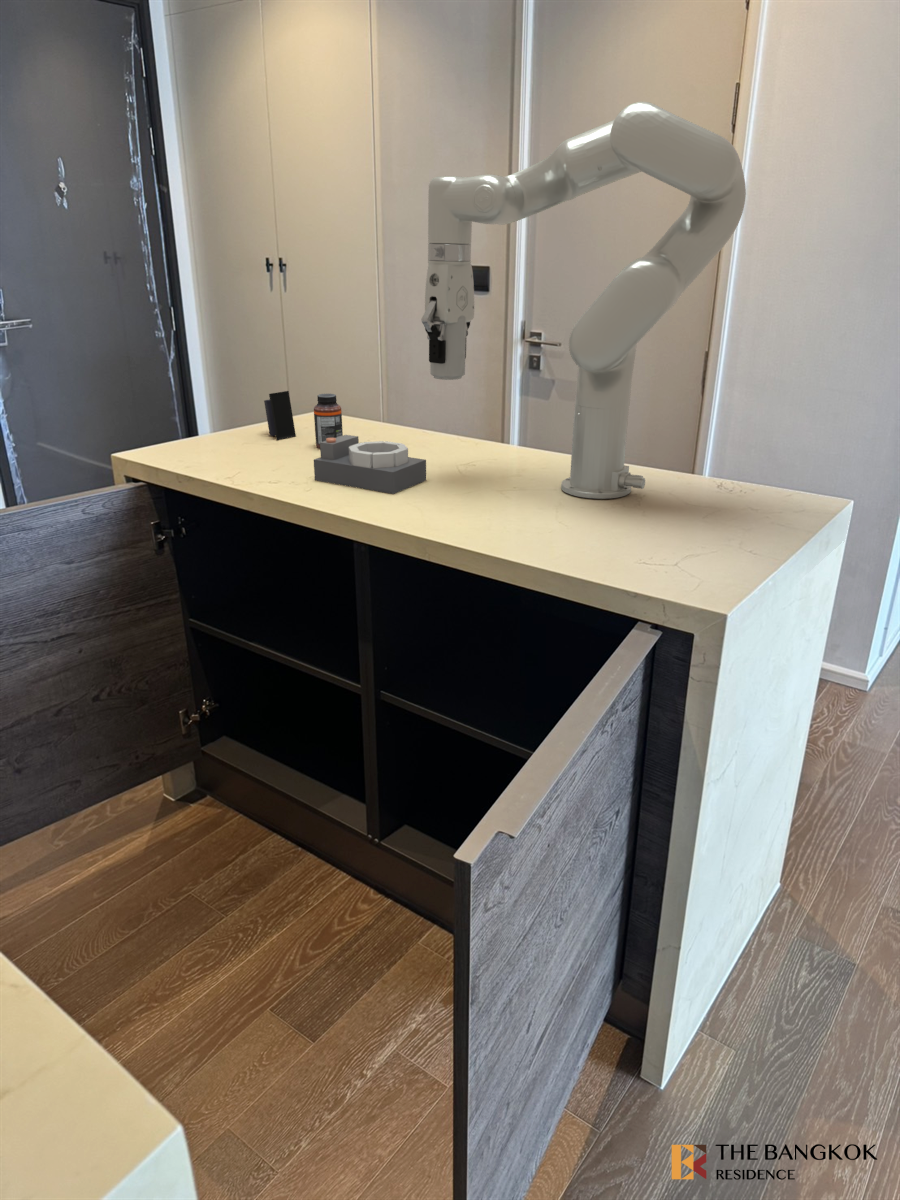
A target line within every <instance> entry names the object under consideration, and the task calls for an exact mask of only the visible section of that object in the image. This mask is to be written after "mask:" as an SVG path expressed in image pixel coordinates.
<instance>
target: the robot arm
mask: <svg viewBox="0 0 900 1200" xmlns="http://www.w3.org/2000/svg"><path fill="white" fill-rule="evenodd" d="M743 170H744V169H743V166H742V162H741V158H740V156H739V154H738V152H737V150H736V148H735V146H734V145H733V144H732V142H730V141H729V140H728V139H727V138H725V137H723V136H721V134H718V133H715V132H714V131H711V130H709V129H707V128H704V127H703V126H700V125H699V124H696V123H695V122H692V121H689V120H687V119H685V118H683V117H680V116H679V115H676V114H674V113H672V112H671V111H669V110H667V109H665V108H663V107H661V106H659V105H658V104H655V103H652V102H649V101H637V102H633V103H631V104H629V105H627V106H625V107H623V108H622V109H621V111H620V112H619V113H618V114H617V115H616V117H615V118H614V119H612V120H610V121H609V122H606V123H603V124H601V125H599V126H596V127H594V128H592V129H589V130H586V131H584V132H582V133H579V134H577V135H575V136H573V137H572V136H571V137H569V138H567V139H565V140H564V141H562V142H561V143H560V144H559V145H557V147H556V148H555V150H554V151H553V152H552V153H551V154H550V155H549V156H547V157H546V158H544V159H543V160H541V161H538V162H537V163H535V164H532V165H530V166H528V167H526V168H523V169H522V170H518V171H516V172H514V173H511V174H509V175H506V176H502V175H496V174H492V173H491V174H488V173H487V174H481V175H475V176H469V177H468V176H467V177H464V176H455V175H453V176H452V175H451V176H450V175H448V176H446V175H445V176H444V175H443V176H435V177H432V179H430V181H429V183H428V194H427V195H428V197H427V198H428V213H427V214H428V215H427V219H428V221H427V223H428V225H427V227H428V228H427V234H428V235H427V264H428V265H427V269H426V271H427V272H426V279H425V281H426V282H425V290H424V291H425V293H424V294H425V295H424V313H423V315H422V317H421V323H422V324H423V328H424V330H425V332H426V334H427V335H426V337H427V340H428V361H429V363H430V362H431V363H439V364H444V363H445V357H446V340H443V339H444V334H445V330H446V324H455V323H457V322H458V318H459V317H460V316H462V315H463V316H465V317H466V338H467V337H468V335H469V328H470V326H471V322H472V320H473V319H474V318H475V286H474V285H475V284H474V283H475V282H474V272H473V267H472V263H471V262H472V261H471V260H472V232H473V231H472V230H473V226H472V225H473V223H478V224H483V225H499V226H501V225H509V224H512V223H515V222H519V221H520V220H523V219H526V218H528V217H532V216H534V215H537V214H539V213H542V212H545V211H546V210H549V209H551V208H554V207H555V206H558V205H560V204H562V203H565V202H568V201H572V200H574V199H576V198H577V197H580V196H582V195H585V194H587V193H590V192H592V191H595V190H597V189H600V188H602V187H604V186H608V185H610V184H612V183H615V182H617V181H620V180H622V179H626V178H629V177H631V176H633V175H636V174H639V173H641V172H642V173H644V174H646V175H648V176H650V177H652V178H654V179H655V180H657V181H660V182H662V183H665V184H666V185H669V186H670V187H673V188H675V189H677V190H679V191H681V192H683V193H685V194H686V195H689V196H690V198H689V201H688V204H687V206H686V209H685V210H684V211H683V212H682V213H681V214H680V215H679V217H678V218H677V219H676V220H675V221H674V222H673V223H672V224H671V226H670V227H669V228H668V229H667V231H666V232H665V234H663V236H661V237H660V239H659V240H658V241H657V242H656V243H655V244H654V245H653V247H652V248H651V249H650V250H649V251H648V252H647V253H646V254H645V255H643V256H642V257H639V258H637V259H633V260H632V261H631V262H630V263H628V264H626V266H625V267H624V268H623V269H622V270H620V272H619V273H618V274H617V275H616V277H614V279H613V280H612V281H611V282H610V283H609V285H608V286H606V287H605V289H604V290H603V291H602V292H601V294H600V295H599V296H598V297H597V298H596V299H595V300H594V302H593V303H592V304H591V305H590V306H588V308H587V309H586V311H585V312H584V313H583V314H582V315H581V316H580V317H579V318H578V320H577V321H576V322H575V324H574V325H573V327H572V329H571V331H570V335H569V337H568V349H569V355H570V357H571V359H572V361H573V362H574V364H576V366H577V374H576V381H575V382H576V383H575V397H574V405H573V406H574V408H573V411H574V412H573V423H572V425H573V426H572V439H571V440H572V442H571V456H570V458H571V460H570V473H569V474H570V477H568V478H565V479H563V480H562V481H561V485H560V488H561V490H562V492H564V493H566V494H568V495H571V496H574V497H579V498H584V499H585V498H586V499H592V500H593V499H595V500H596V499H598V500H602V499H603V500H604V499H606V500H607V499H617V498H621V497H625V496H628V495H629V494H630V493H631V492H632V488H634V489H640V490H643V489H644V488H645V486H646V478H645V477H644V475H639V474H632V473H631V472H630V465H625V458H626V449H627V448H626V446H627V438H628V437H627V435H628V422H629V414H630V413H629V412H630V403H631V392H632V385H633V384H632V383H633V373H634V366H635V360H636V351H637V344H638V343H639V342H640V341H641V340H642V339H643V338H644V337H645V336H646V335H647V333H648V332H650V330H651V329H653V328H654V326H655V325H656V324H657V323H658V322H659V321H660V320H661V319H662V317H663V316H665V314H667V313H668V312H669V311H670V310H671V309H672V308H673V307H674V306H675V304H676V303H677V301H679V299H680V298H681V296H682V295H683V293H684V292H685V291H686V290H687V289H688V287H689V286H690V285H691V284H692V283H693V282H694V281H695V280H696V279H697V278H698V277H699V276H700V275H701V274H702V273H703V271H704V270H705V269H706V267H707V266H708V265H709V264H710V263H711V262H712V261H713V259H714V258H716V256H717V255H718V254H719V252H720V251H721V250H723V248H724V247H725V245H727V243H728V242H729V241H730V239H731V238H732V235H734V232H735V231H736V230H737V227H738V225H739V223H740V221H741V218H742V215H743V213H744V208H745V204H746V198H747V197H746V195H747V191H746V189H747V188H746V187H747V186H746V181H745V175H744V171H743ZM435 318H440V320H441V321H435ZM436 326H440V329H439V331H438V329H437V327H436ZM466 358H467V347H466V348H465V360H467V359H466Z"/></svg>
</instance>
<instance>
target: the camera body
mask: <svg viewBox="0 0 900 1200" xmlns="http://www.w3.org/2000/svg"><path fill="white" fill-rule="evenodd" d="M319 449H320V451H319V452H320V457H317V458H313V469H314V470H313V473H314V481H316V480H317V482H324V483H328V482H329V484H334V483H335V484H334V485H339V484H340V486H345V485H346V487H350V486H351V488H356V487H357V489H362V488H363V489H362V490H367V489H369V491H373V490H374V491H375V492H380V493H385V494H392V495H394V494H397V493H400V492H402V491H405V490H408V489H409V488H412V487H414V486H417V485H419V484H422V483H424V482H426V481H427V459H425V458H424V459H423V458H417V457H410V456H409V448H408V446H406V444H404V443H401V442H394V441H386V440H385V441H383V440H379V441H377V440H376V441H364V442H359V436H358V435H350V434H343V436H340V437H337V438H326V441H323V442H320V448H319Z"/></svg>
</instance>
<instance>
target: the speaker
mask: <svg viewBox="0 0 900 1200" xmlns="http://www.w3.org/2000/svg"><path fill="white" fill-rule="evenodd" d="M268 396H269V398H268V399H265V400H263V402H264V409H265V415H266V421H267V428H268V433H269V436H272V437H276V441H280V440H285V439H290V438H291V439H292V438H295V437H296V436H297V435H296V434H297V433H296V430H295V429H296V428H295V421H294V416H293V410H292V403H291V398H290V397H291V396H290V391H289V390H286V391H285V390H284V391H280V392H279V391H278V392H272V393H268Z"/></svg>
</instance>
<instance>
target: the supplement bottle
mask: <svg viewBox="0 0 900 1200" xmlns="http://www.w3.org/2000/svg"><path fill="white" fill-rule="evenodd" d="M342 412H343V411H342V406H341V405H340V404H338V402H337V394H334V393H321V394H320V393H319V394H318V395H317V404H316V405H315V406H314V407H313V418H314V421H313V422H314V432H315V433H314V434H315V435H314V436H315V446H316V447H317V448H318V449H320V442H323V441H326V438H337V437H340V436H343V435H344V432H343V416H342V415H343V414H342Z"/></svg>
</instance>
